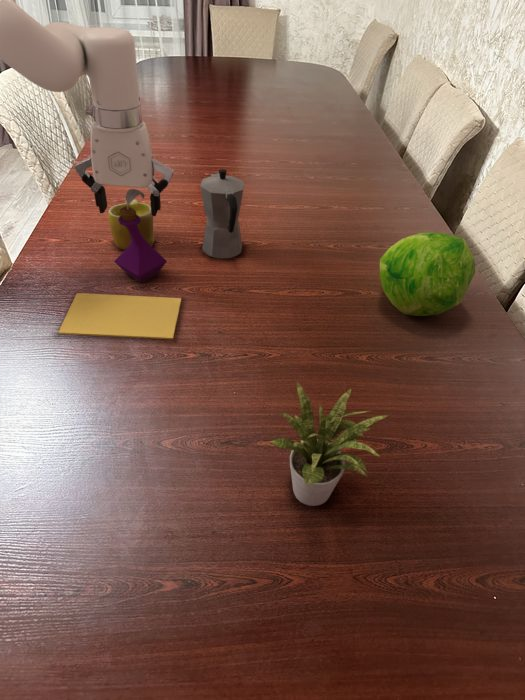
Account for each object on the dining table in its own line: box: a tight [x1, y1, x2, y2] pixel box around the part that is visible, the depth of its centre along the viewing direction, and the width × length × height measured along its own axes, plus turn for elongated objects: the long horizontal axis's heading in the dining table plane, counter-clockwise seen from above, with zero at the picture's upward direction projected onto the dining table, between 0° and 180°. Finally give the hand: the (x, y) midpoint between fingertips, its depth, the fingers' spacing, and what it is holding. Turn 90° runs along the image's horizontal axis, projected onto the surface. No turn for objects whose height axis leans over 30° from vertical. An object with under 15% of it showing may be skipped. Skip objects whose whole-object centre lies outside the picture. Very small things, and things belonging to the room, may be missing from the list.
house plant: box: [269, 380, 390, 507], centre depth 64 cm, size 14×14×16 cm
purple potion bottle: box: [113, 188, 168, 283], centre depth 101 cm, size 8×8×18 cm
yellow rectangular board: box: [57, 292, 182, 340], centre depth 96 cm, size 20×12×1 cm, turn 90°
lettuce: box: [379, 232, 476, 317], centre depth 99 cm, size 17×20×16 cm
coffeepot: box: [199, 168, 246, 260], centre depth 110 cm, size 15×9×18 cm, turn 19°
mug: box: [107, 199, 155, 251], centre depth 114 cm, size 12×10×10 cm
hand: (129, 211), depth 97 cm, fingers open, 9 cm apart
